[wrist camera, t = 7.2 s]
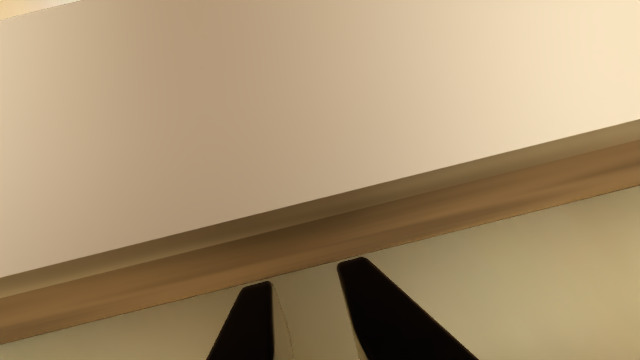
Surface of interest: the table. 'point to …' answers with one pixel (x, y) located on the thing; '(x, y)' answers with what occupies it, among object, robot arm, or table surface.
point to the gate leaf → (289, 137)
